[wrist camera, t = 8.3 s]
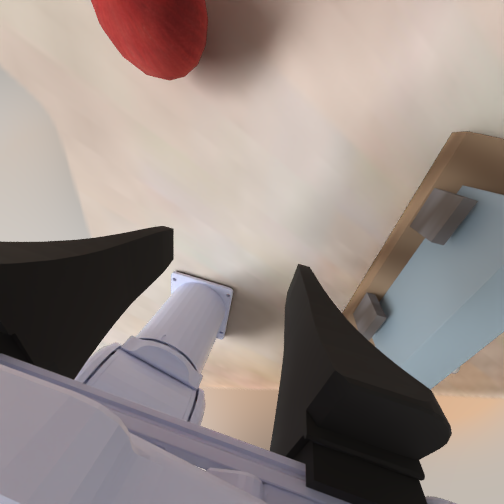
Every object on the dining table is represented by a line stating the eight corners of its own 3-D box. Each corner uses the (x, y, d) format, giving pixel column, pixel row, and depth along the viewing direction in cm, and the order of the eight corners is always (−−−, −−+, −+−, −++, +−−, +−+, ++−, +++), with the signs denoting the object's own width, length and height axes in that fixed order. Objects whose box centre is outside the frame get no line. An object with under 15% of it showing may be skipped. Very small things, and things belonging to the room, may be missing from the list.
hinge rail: (390, 340, 23) (408, 380, 19) (335, 324, 24) (342, 359, 20) (552, 153, 13) (656, 157, 9) (452, 132, 14) (511, 128, 10)
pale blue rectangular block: (403, 332, 21) (437, 395, 15) (365, 321, 21) (387, 379, 16) (521, 198, 14) (657, 232, 8) (462, 185, 14) (559, 209, 9)
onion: (147, -29, 13) (-17, -215, 6) (230, -13, 13) (150, -194, 6) (151, 82, 16) (41, 37, 9) (218, 98, 16) (156, 63, 9)
